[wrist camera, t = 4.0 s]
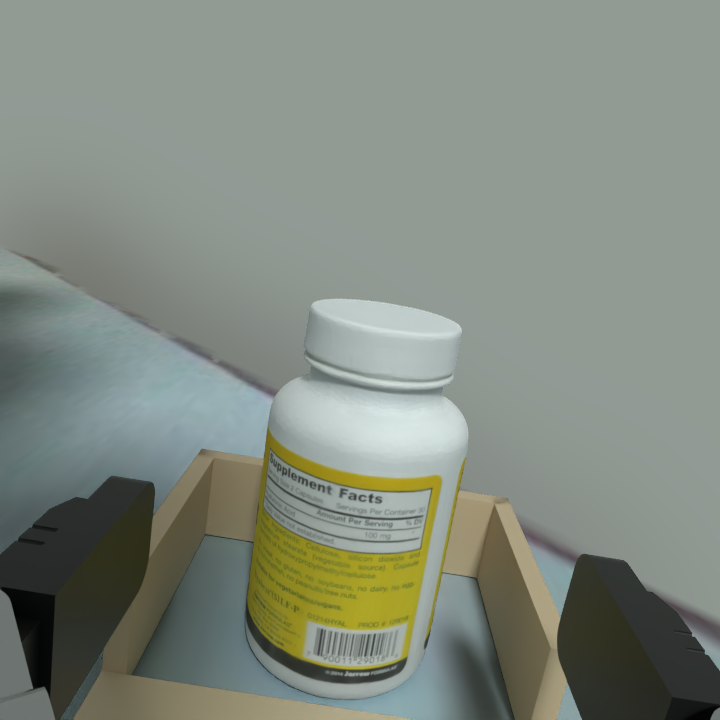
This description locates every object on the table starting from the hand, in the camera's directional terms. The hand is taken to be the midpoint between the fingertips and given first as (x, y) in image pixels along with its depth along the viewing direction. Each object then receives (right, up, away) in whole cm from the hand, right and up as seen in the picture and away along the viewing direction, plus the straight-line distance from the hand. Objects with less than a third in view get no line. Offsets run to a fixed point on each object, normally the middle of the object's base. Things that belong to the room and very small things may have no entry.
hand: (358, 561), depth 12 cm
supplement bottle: (-1, -5, +7) cm, 8 cm away
